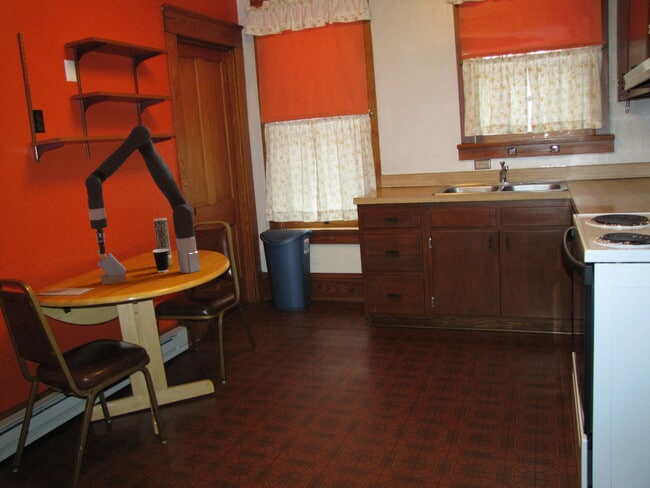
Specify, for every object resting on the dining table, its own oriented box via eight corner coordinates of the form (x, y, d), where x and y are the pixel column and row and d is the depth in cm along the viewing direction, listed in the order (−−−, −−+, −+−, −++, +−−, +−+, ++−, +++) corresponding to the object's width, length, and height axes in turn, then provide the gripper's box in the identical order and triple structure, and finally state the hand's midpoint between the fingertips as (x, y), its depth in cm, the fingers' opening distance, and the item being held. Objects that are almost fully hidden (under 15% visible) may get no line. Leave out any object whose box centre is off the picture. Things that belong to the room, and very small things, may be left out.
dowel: (117, 268, 297) (102, 247, 294) (113, 271, 295) (98, 251, 292) (114, 269, 299) (99, 249, 296) (110, 273, 297) (95, 252, 294)
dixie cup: (173, 271, 311) (170, 249, 310) (158, 274, 307) (155, 252, 305) (168, 269, 318) (165, 248, 316) (152, 271, 314) (150, 250, 312)
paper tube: (174, 263, 331) (168, 217, 326) (169, 266, 324) (164, 219, 320) (162, 264, 332) (156, 218, 327) (157, 267, 325) (151, 220, 321)
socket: (126, 277, 304) (122, 250, 301) (127, 281, 295) (123, 253, 293) (100, 281, 300) (96, 253, 298) (100, 285, 292) (96, 256, 289)
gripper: (89, 217, 297) (94, 251, 300) (89, 220, 283) (94, 256, 286) (106, 215, 299) (111, 249, 302) (106, 218, 286) (111, 254, 289)
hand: (102, 252), depth 294 cm, fingers open, 6 cm apart
